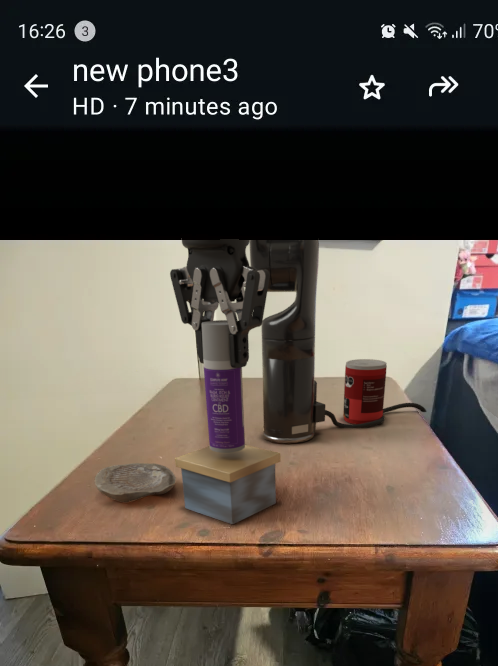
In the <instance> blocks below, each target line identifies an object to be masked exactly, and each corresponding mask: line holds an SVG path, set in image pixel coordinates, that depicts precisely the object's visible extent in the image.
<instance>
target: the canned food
mask: <svg viewBox="0 0 498 666" xmlns="http://www.w3.org/2000/svg"><path fill="white" fill-rule="evenodd" d="M344 369H345V371H344V387H343V388H344V391H343V392H344V393H343V414H342V417H343V421H345V422H346V423H347V424H351V425H352V424H362V423H367V422H371V421H375V420H379V419H380V418H381V417H382V416H383V415H384V413H383V409H384V404H385V393H386V392H385V391H386V381H387V379H386V378H387V369H388V367H387V362H386V361H384V360H379V359H373V358H358V359H357V358H356V359H350V360H348V361H346V362H345V368H344Z"/></svg>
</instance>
